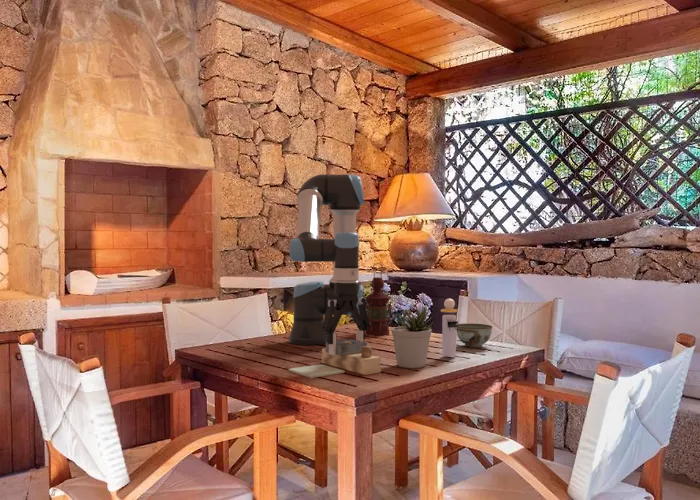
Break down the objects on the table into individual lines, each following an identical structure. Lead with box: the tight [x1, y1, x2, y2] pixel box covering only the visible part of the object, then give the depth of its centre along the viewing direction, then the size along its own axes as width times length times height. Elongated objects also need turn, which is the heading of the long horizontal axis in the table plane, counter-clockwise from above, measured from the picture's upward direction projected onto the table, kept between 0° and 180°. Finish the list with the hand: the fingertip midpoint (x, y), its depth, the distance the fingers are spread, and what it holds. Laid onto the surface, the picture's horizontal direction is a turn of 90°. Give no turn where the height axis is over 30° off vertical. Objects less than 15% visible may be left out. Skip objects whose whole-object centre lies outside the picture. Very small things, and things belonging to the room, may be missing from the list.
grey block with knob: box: [325, 338, 368, 356], centre depth 190 cm, size 8×10×3 cm
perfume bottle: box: [440, 297, 459, 357], centre depth 205 cm, size 6×6×20 cm
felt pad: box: [288, 363, 345, 379], centre depth 182 cm, size 12×12×1 cm
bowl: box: [456, 323, 493, 349], centre depth 227 cm, size 14×13×8 cm
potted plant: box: [391, 303, 434, 369], centre depth 191 cm, size 13×14×20 cm
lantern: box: [364, 262, 393, 337], centre depth 257 cm, size 12×12×30 cm
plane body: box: [321, 332, 382, 376], centre depth 188 cm, size 22×6×10 cm, turn 38°
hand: (346, 352), depth 190 cm, fingers closed on grey block with knob, 10 cm apart
